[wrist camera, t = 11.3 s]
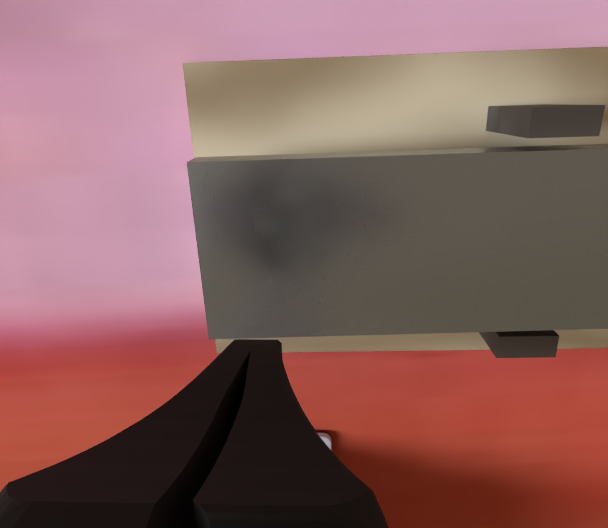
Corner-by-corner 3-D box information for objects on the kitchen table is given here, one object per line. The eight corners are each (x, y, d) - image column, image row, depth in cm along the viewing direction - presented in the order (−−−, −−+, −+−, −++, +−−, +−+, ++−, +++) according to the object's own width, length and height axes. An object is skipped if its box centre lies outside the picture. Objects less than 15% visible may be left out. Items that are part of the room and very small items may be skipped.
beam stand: (747, 335, 23) (857, 396, 18) (221, 343, 24) (197, 402, 19) (857, 39, 18) (1048, 17, 13) (189, 64, 19) (147, 53, 14)
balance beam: (823, 305, 18) (866, 321, 17) (216, 321, 19) (209, 339, 17) (897, 134, 16) (953, 137, 15) (197, 157, 16) (186, 162, 15)
